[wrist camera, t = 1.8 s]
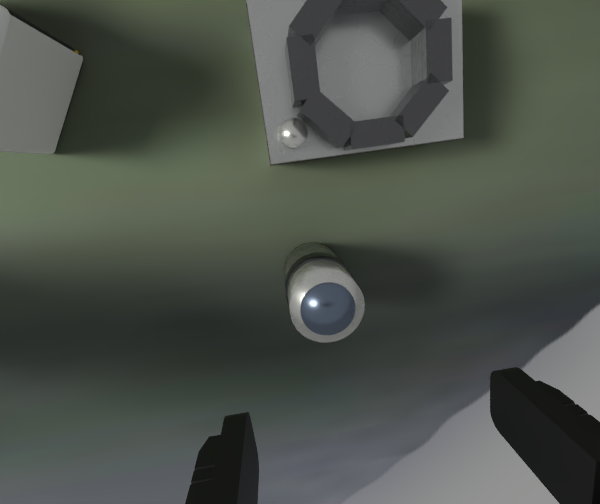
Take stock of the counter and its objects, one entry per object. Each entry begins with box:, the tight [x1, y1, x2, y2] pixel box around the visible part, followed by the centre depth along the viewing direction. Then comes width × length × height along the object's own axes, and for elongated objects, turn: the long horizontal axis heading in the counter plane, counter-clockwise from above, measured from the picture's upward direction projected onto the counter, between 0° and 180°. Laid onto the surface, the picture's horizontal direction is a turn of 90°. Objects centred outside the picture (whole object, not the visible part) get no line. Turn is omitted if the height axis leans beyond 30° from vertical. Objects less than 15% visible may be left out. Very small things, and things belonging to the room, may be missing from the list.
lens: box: [285, 242, 365, 343], centre depth 24 cm, size 5×5×8 cm
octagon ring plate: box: [246, 0, 464, 165], centre depth 21 cm, size 12×9×7 cm
